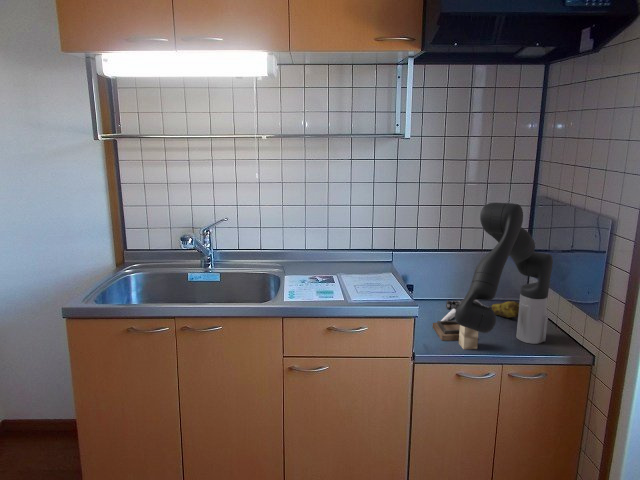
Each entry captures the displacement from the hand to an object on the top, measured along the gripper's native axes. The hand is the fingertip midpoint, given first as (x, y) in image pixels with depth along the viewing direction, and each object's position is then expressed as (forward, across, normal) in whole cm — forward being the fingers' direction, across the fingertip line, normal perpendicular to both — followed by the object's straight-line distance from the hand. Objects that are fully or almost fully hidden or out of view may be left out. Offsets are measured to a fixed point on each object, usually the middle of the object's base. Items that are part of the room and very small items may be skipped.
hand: (467, 305), depth 166 cm
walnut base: (+21, +3, +13) cm, 25 cm away
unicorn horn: (+39, +2, +9) cm, 40 cm away
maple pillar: (+12, -3, +16) cm, 20 cm away
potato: (+41, -19, +7) cm, 46 cm away
